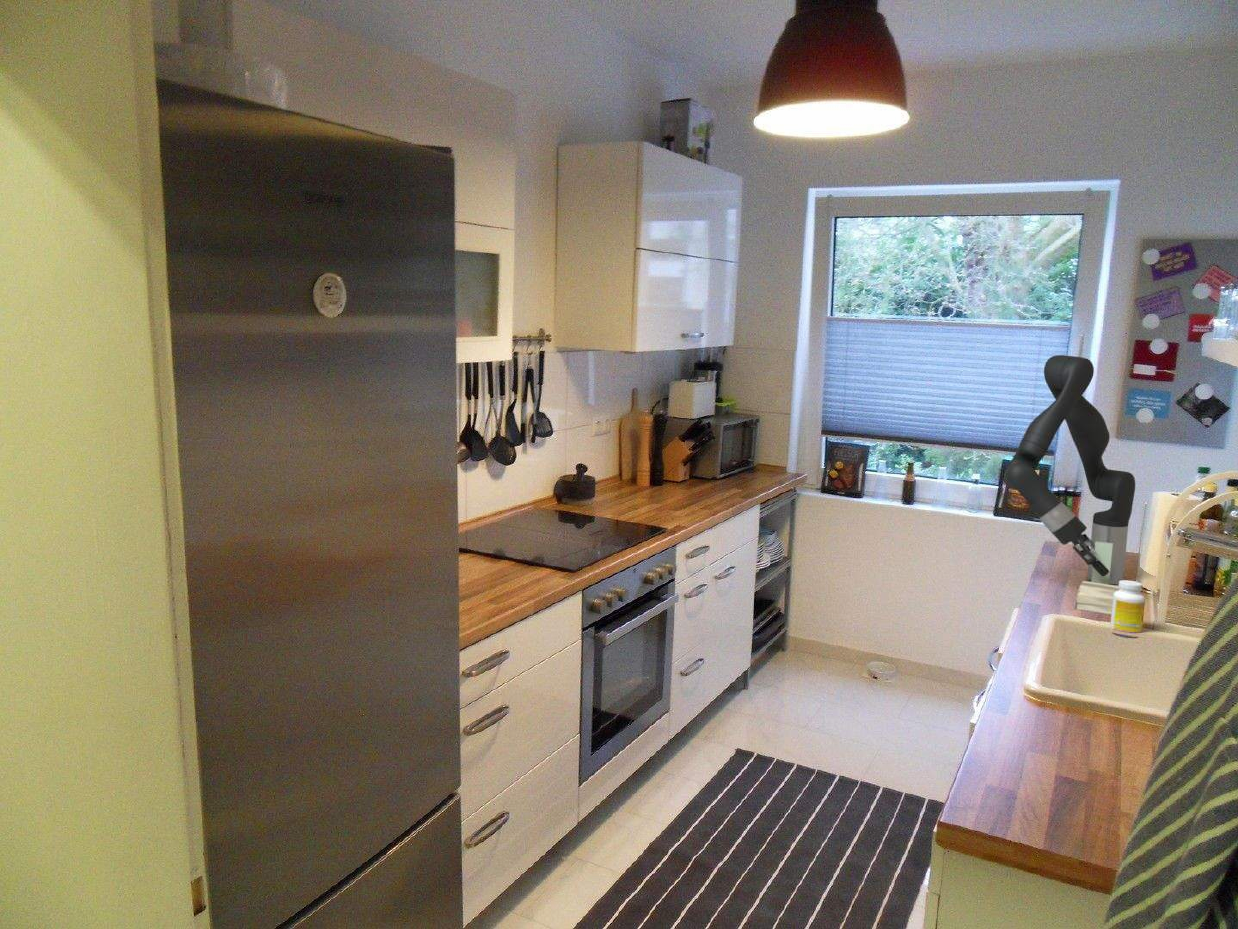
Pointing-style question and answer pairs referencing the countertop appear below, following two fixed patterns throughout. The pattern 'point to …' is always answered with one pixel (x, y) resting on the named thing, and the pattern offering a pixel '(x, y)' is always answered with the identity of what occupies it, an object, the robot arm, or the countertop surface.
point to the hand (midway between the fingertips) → (1107, 571)
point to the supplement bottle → (1128, 609)
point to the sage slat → (1103, 561)
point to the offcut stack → (1096, 597)
